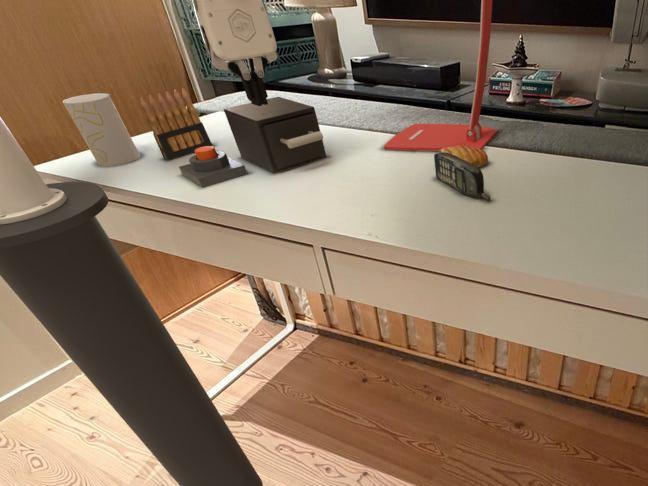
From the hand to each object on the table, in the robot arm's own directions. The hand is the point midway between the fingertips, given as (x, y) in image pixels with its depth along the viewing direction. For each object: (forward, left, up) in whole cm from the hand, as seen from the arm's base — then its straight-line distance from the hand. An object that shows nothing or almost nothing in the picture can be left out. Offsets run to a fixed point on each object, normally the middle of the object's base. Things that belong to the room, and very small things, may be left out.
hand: (259, 103), depth 81 cm
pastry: (+26, -23, -13) cm, 37 cm away
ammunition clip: (-6, +32, -13) cm, 35 cm away
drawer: (+6, +7, -12) cm, 15 cm away
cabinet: (+6, +11, -13) cm, 18 cm away
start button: (-8, +13, -10) cm, 18 cm away
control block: (-8, +13, -13) cm, 20 cm away
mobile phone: (+18, -31, -13) cm, 39 cm away
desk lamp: (+34, -5, -13) cm, 37 cm away
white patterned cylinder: (-18, +40, -13) cm, 46 cm away
